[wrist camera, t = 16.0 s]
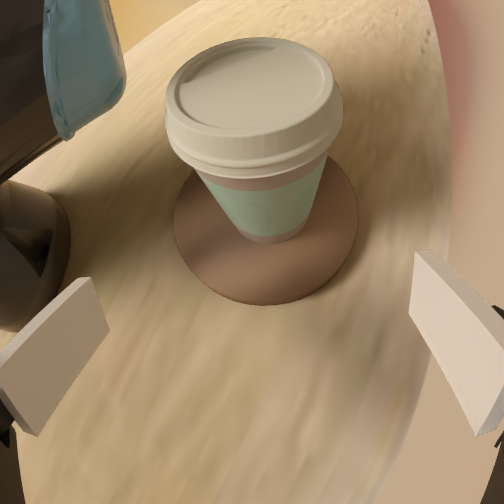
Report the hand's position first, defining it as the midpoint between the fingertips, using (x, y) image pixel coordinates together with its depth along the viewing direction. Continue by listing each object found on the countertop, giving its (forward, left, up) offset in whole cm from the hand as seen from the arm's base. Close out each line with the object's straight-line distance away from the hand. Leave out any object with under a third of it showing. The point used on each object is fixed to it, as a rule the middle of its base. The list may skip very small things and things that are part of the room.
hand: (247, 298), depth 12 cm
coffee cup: (-6, +6, -9) cm, 13 cm away
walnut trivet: (-7, +6, -10) cm, 14 cm away
